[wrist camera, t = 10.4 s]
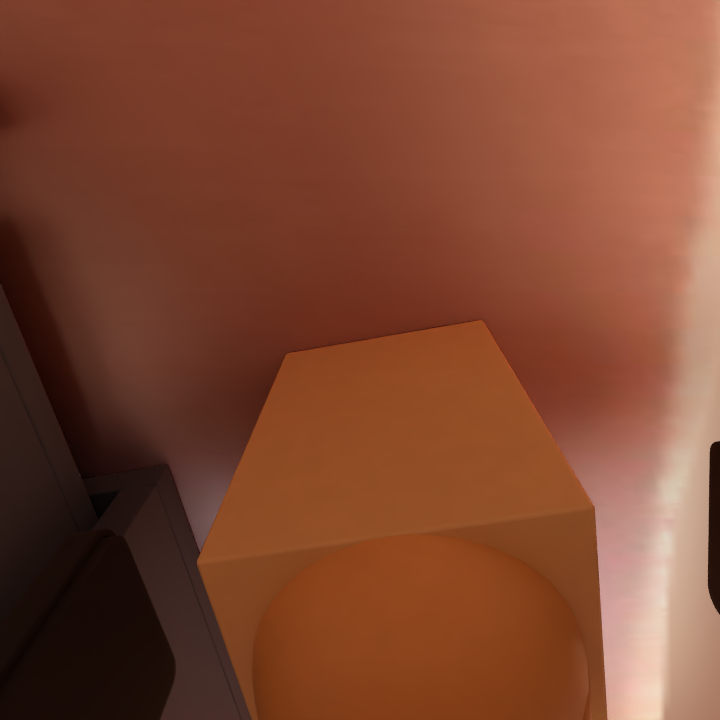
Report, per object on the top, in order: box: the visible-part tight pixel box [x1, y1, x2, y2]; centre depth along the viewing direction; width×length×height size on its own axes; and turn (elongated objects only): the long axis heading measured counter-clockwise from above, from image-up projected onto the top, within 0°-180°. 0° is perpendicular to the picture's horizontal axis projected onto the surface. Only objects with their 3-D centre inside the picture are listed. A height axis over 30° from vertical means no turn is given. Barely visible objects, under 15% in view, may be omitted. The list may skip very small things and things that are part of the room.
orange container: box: [197, 320, 607, 720], centre depth 10 cm, size 5×5×9 cm
